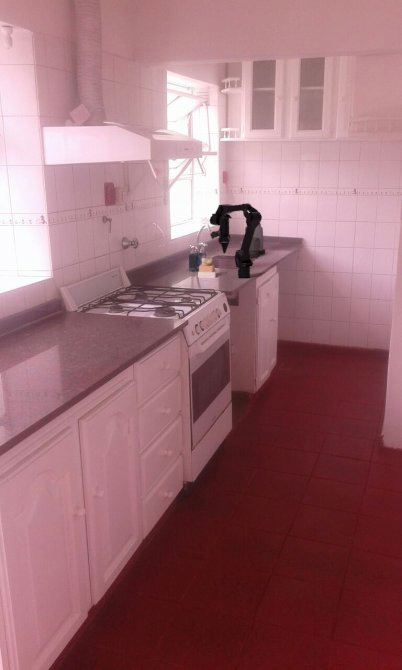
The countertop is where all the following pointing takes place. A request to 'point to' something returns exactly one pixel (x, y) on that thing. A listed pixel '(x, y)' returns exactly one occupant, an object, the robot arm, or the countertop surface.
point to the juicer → (256, 243)
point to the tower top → (206, 268)
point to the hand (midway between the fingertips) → (224, 252)
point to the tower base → (207, 274)
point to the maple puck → (206, 261)
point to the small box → (195, 261)
